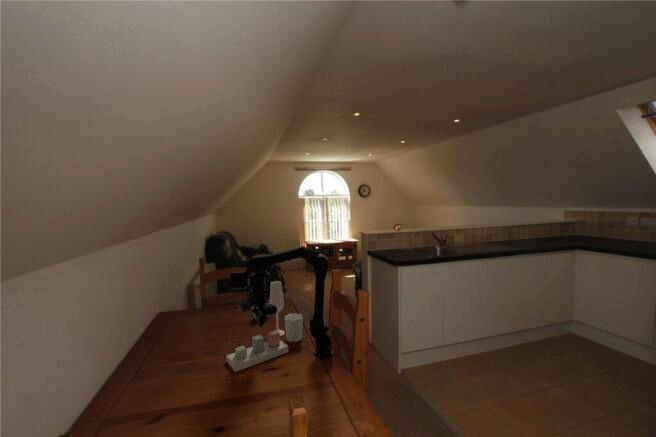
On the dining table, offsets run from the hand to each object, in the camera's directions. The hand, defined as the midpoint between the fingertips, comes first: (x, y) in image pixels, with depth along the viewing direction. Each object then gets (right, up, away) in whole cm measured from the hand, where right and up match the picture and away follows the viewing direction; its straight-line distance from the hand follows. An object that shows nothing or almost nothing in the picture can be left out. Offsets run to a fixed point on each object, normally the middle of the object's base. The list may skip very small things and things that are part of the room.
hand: (260, 326), depth 116 cm
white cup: (+12, -11, +15) cm, 22 cm away
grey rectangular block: (-1, -9, 0) cm, 9 cm away
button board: (-1, -12, 0) cm, 12 cm away
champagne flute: (+3, -11, +21) cm, 24 cm away
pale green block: (-6, -12, -4) cm, 14 cm away
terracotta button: (+5, -9, +4) cm, 11 cm away
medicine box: (-9, -10, +41) cm, 43 cm away
